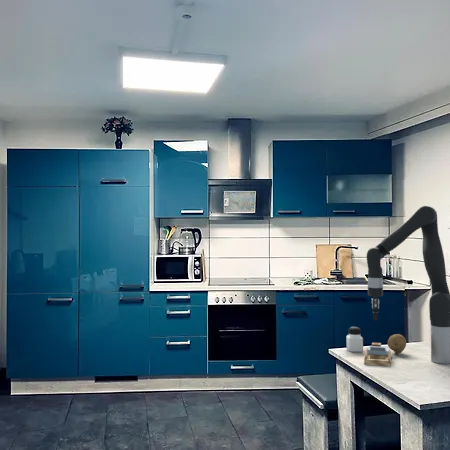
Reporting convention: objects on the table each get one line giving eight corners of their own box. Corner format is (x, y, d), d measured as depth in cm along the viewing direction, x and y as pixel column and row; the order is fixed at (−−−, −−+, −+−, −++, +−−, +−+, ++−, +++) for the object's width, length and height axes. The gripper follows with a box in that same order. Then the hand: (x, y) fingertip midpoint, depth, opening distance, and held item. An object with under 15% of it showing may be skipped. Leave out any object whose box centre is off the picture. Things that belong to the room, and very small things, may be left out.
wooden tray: (390, 356, 243) (390, 349, 243) (391, 366, 225) (390, 358, 225) (365, 354, 247) (365, 347, 247) (364, 364, 229) (364, 357, 229)
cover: (387, 351, 242) (387, 344, 242) (387, 355, 234) (387, 348, 234) (368, 350, 245) (368, 343, 245) (368, 354, 237) (368, 346, 237)
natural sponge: (396, 356, 243) (396, 336, 243) (383, 352, 251) (383, 333, 251) (410, 354, 246) (409, 334, 247) (397, 350, 255) (397, 331, 255)
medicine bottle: (363, 351, 253) (363, 328, 253) (349, 351, 253) (349, 328, 253) (359, 348, 260) (359, 326, 260) (346, 348, 260) (346, 326, 260)
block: (381, 351, 253) (381, 343, 253) (381, 353, 249) (380, 344, 249) (372, 351, 255) (372, 342, 255) (371, 353, 250) (371, 344, 251)
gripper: (383, 288, 242) (383, 322, 241) (382, 285, 254) (382, 318, 254) (367, 287, 244) (367, 322, 244) (367, 284, 257) (368, 317, 256)
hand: (375, 320), depth 249 cm, fingers closed
